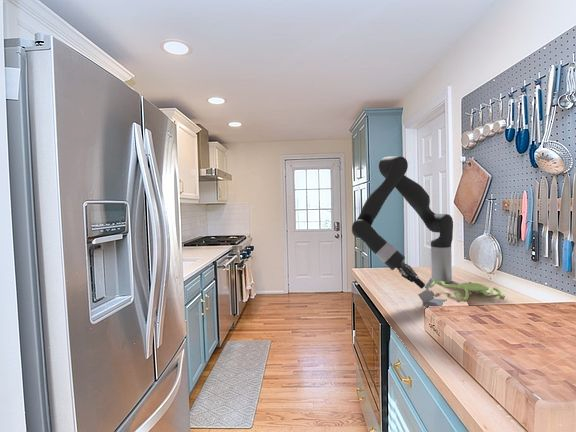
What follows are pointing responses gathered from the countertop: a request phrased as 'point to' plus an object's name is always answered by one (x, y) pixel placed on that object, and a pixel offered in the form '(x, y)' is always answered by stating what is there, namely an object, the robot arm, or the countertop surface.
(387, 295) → the countertop surface
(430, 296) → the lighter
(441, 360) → the countertop surface
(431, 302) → the slate pad
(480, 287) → the figurine
